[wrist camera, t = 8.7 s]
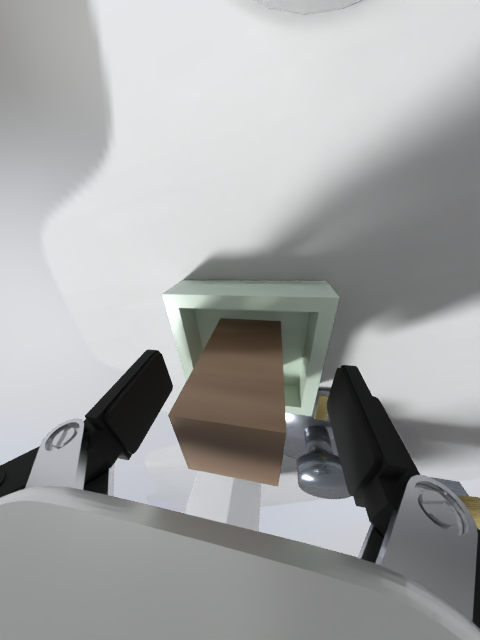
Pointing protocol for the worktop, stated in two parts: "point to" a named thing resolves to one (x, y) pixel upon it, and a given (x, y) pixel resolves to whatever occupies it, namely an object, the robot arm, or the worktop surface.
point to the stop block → (235, 403)
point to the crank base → (297, 435)
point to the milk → (225, 500)
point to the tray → (260, 304)
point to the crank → (328, 482)
